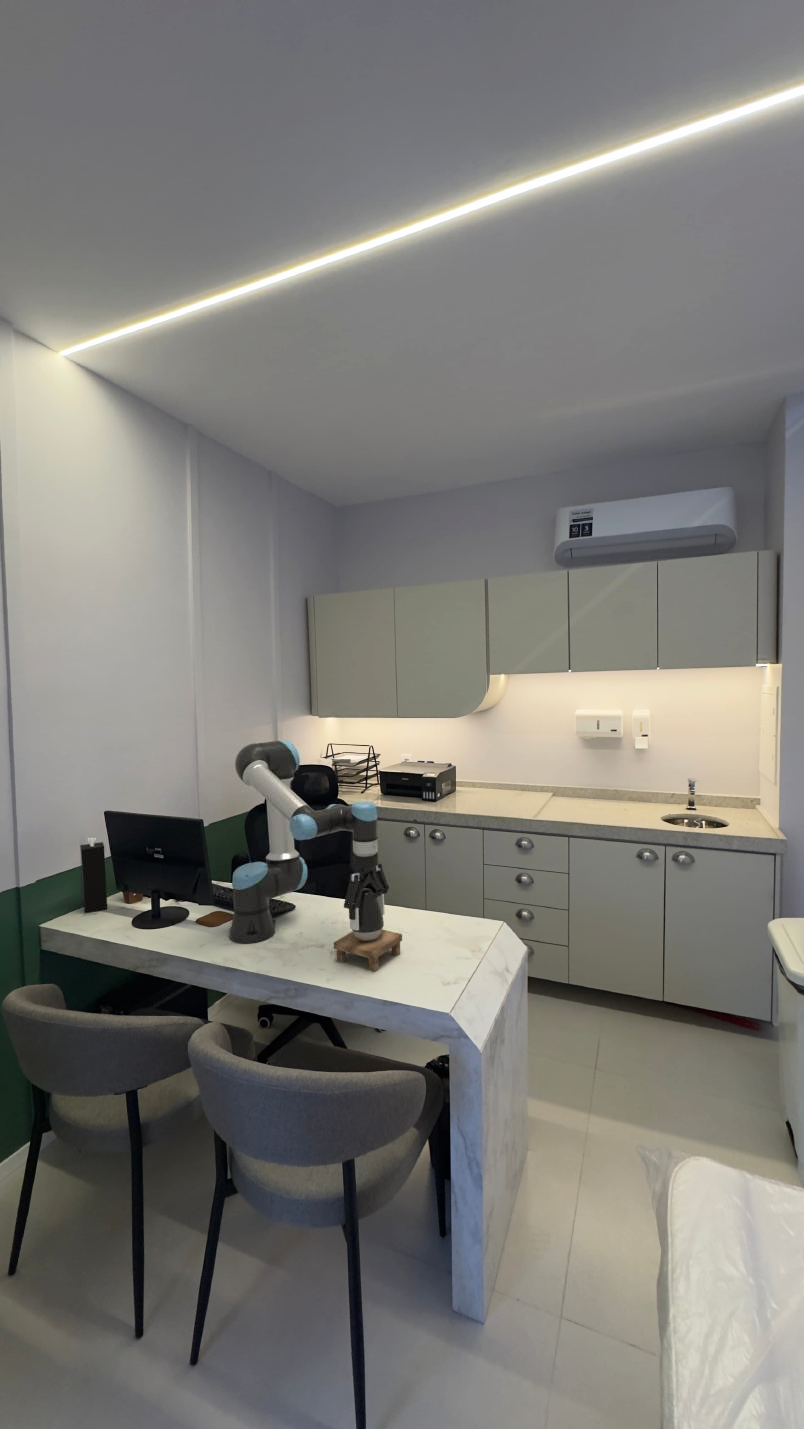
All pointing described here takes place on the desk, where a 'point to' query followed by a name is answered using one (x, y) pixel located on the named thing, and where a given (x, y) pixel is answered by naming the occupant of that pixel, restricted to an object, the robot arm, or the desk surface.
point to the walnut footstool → (368, 947)
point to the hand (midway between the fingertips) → (367, 921)
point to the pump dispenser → (369, 916)
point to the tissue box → (93, 876)
